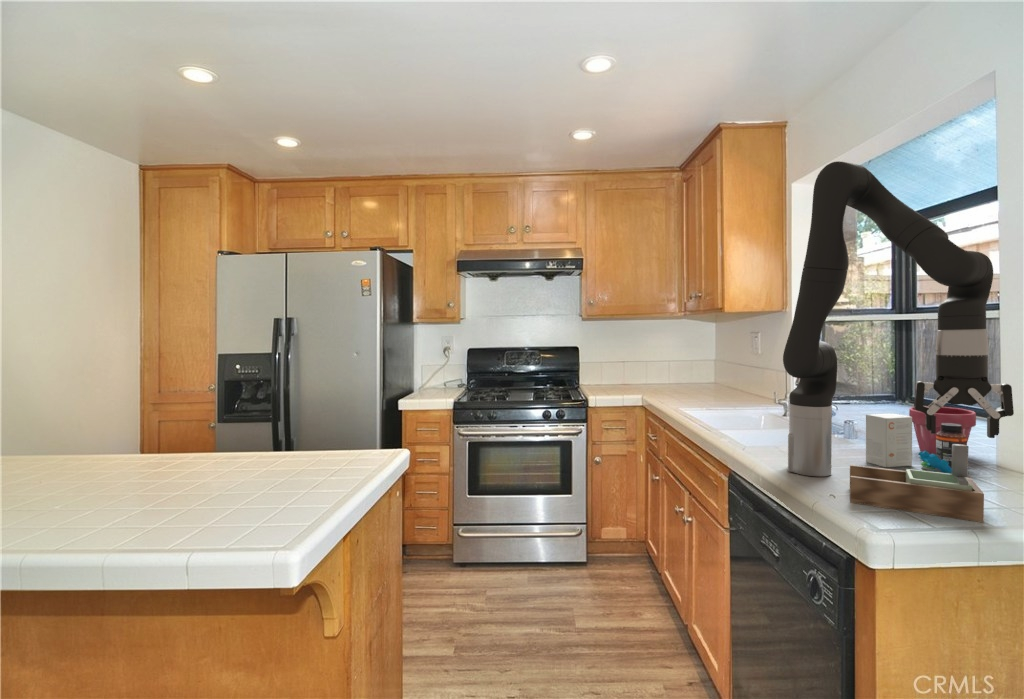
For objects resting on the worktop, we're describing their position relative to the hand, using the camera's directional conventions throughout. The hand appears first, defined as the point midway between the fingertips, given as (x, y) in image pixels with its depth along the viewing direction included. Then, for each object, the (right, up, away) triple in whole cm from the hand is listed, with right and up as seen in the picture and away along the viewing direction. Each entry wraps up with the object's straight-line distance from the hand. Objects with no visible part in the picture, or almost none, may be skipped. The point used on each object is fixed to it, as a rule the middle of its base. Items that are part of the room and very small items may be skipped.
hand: (961, 435), depth 97 cm
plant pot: (+33, -13, +43) cm, 56 cm away
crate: (-3, -14, +3) cm, 14 cm away
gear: (+11, -15, +18) cm, 26 cm away
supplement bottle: (+24, -14, +30) cm, 41 cm away
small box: (+12, -14, +34) cm, 39 cm away
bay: (-6, -15, +5) cm, 17 cm away
